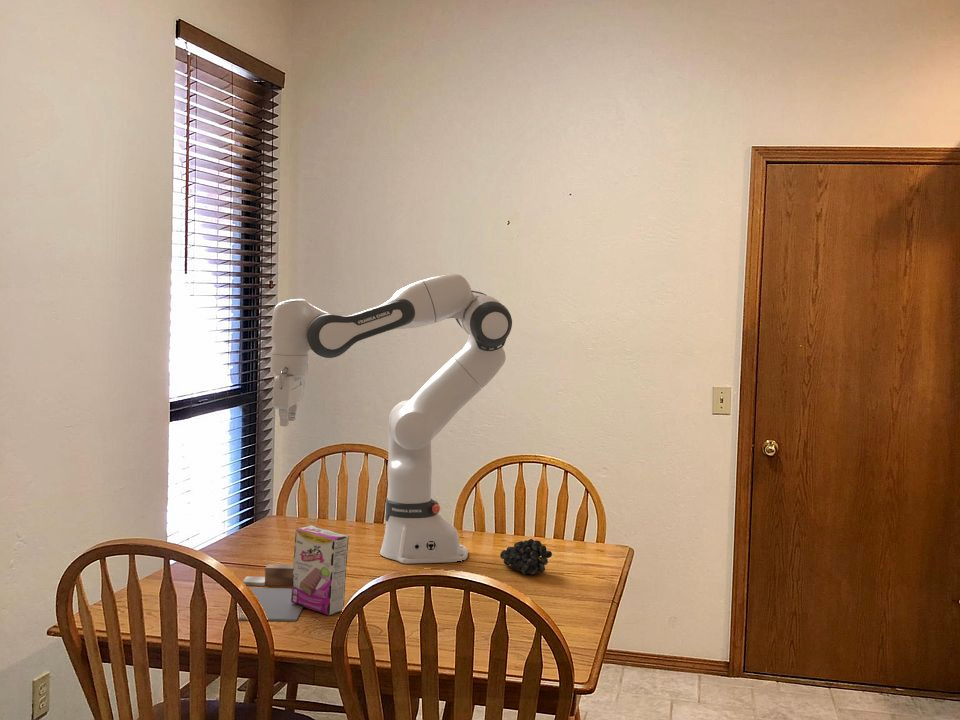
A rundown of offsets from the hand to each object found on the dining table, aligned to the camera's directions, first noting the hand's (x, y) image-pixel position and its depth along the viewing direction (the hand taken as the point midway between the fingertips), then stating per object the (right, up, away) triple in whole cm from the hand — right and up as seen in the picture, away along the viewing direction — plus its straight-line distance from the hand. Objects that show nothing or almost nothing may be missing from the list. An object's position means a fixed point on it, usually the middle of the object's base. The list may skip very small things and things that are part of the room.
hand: (287, 423), depth 238 cm
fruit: (+57, -37, +4) cm, 68 cm away
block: (-1, -36, -13) cm, 38 cm away
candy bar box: (+12, -37, -29) cm, 49 cm away
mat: (+2, -37, -28) cm, 46 cm away
